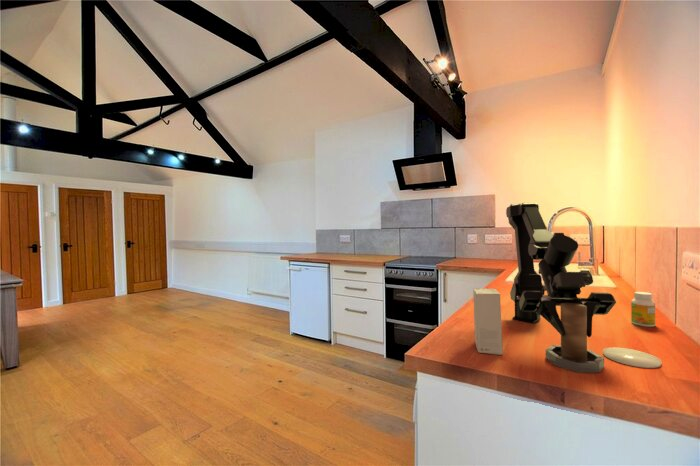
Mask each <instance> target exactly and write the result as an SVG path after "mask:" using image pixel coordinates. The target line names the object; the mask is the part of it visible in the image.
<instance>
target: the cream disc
mask: <svg viewBox="0 0 700 466" xmlns="http://www.w3.org/2000/svg"><path fill="white" fill-rule="evenodd" d="M602 354H603V356H604V357H606V358H607V359H609V360H611V361H613V362H616V363H619V364H622V365H628V366H631V367H638V368H642V369H643V368H644V369H656V368H661V367H662V360H661V359H660V358H659V357H657V356H655V355H652V354H650V353H647V352H643V351H639V350H637V349H632V348H631V349H630V348H626V347H625V348H624V347H615V346H614V347H605V348H603V350H602Z"/></svg>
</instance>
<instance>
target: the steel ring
mask: <svg viewBox="0 0 700 466" xmlns="http://www.w3.org/2000/svg"><path fill="white" fill-rule="evenodd" d="M545 359H546V360H547V361H549V362H550V363H551V364H553V365H554V366H555V367H559V368H561V369H565V370H568V371H573V372H576V373H581V374H582V373H584V374H585V373H586V374H587V373H593V374H599V373H601V371H602V370H603V369H604V368H605V357H603V356H602V355H600V354H598V353H596V352H595V351H593V350H591V349H587V361H575V360H572V359H568V358H564V357H561V344H559V345H558V344H552V345H550V346H549V347H547V348H546V349H545Z"/></svg>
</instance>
